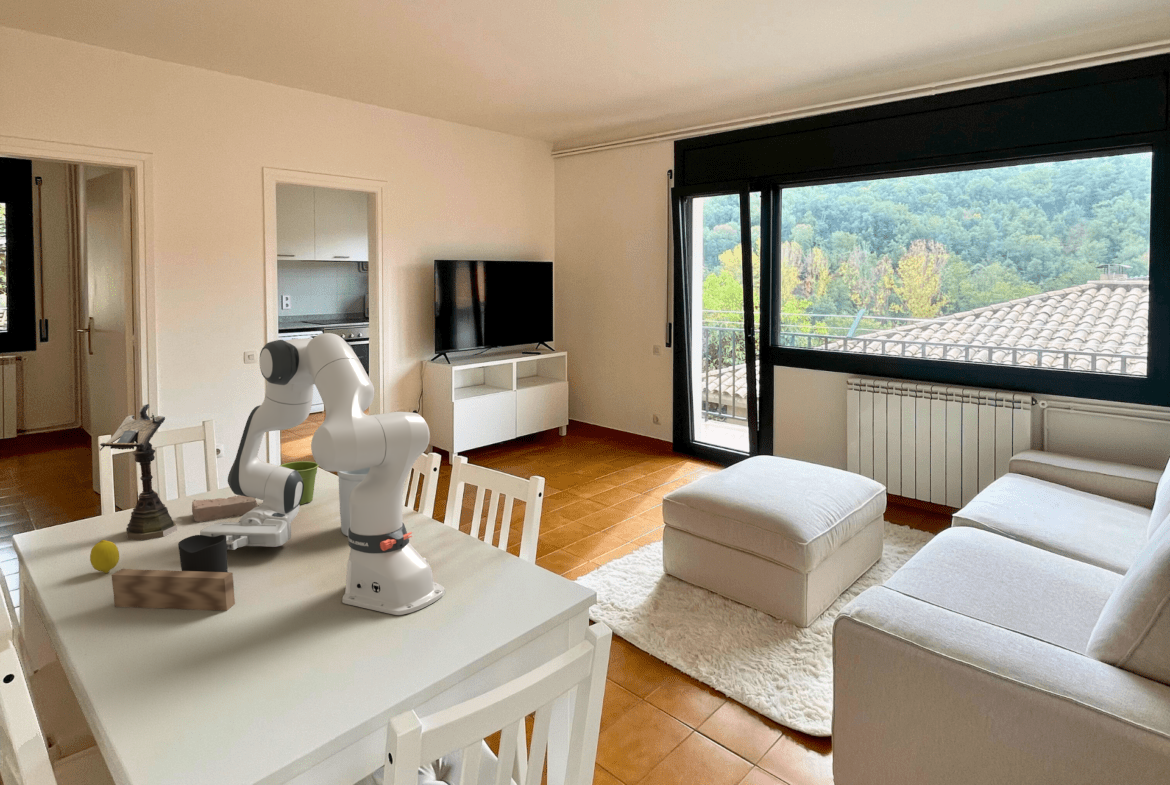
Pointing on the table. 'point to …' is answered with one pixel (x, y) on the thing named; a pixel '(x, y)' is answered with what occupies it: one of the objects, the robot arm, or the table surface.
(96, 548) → the lemon
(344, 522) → the utensil holder
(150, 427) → the ornate lectern
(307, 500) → the plant pot
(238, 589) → the table surface
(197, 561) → the pen holder
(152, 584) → the walnut board
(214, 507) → the brick
